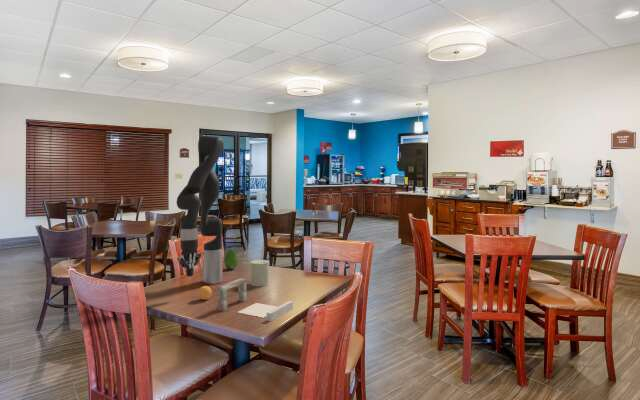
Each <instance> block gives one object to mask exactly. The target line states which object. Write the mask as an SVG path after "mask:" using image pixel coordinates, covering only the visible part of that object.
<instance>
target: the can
mask: <svg viewBox="0 0 640 400" xmlns="http://www.w3.org/2000/svg"><path fill="white" fill-rule="evenodd" d="M250 266H251V267H250V268H251V269H250V270H251V274H250V275H251V279H250V280H251V281H250V284H251V286H253V287H266V286H269V285H270V262H269V260H267V259H256V260H255V259H254V260H252V261H251V262H250Z"/></svg>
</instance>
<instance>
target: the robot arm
mask: <svg viewBox="0 0 640 400" xmlns="http://www.w3.org/2000/svg"><path fill="white" fill-rule="evenodd" d="M197 150H198V151H197V152H198V160H199V165H198V166H197V167H196V168H195V169H194V170H193V171H192V173H191V175H190V177H189V178H188V182H187V184H186V185H185V186H184V188H183V189H182V190H181V192H180V193H179V194H178V196H177V199H176V206H177V208H178V209H179V210H182V211H187V213H186V214H185V215H182V216H181V217H180V236H179V237H180V239H179V240H180V250H181V253H180V254H181V255H180V256H179V257H177V259H176V260H177V262H178V263H179V264H180V266H181V267H182V268H185V271H186V273H185V274H186V277H189V278H190V277H193V275H194V268H195V267H196V266H197V265H198V263H199V262H200V259H201V258H202V254H201V253H199V252H198V248H199V234H198V233H199V232H198V216H199V213H200V226H199V227H200V235H201V236H202V237H214V238H213V239H212V240H210V241H208V242H206V243H204V244H203V263H202V282H203V283H204V284H209V285H215V284H219V283H220V284H221V283H222V282H223V221H222V219H221V218H218V217H215V218H212V217H211V218H210V217H209V218H208V214H209V213H210V210H211V208H212V207H213V205H214V204H215V203H216V201H217V200H218V197H219V195H220V180H219V177H218V175H217V173H216V172H215V170H214V169H213V168H214V167H215V165H216V163H217V162H218V160H219V159H220V157H221V156H222V153H223V151H224V141H223V139H222V138H221V137H219V136H211V135H202V136H200V137H199V139H198V143H197ZM197 194H200V197H199V196H198V195H197Z"/></svg>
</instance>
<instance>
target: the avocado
mask: <svg viewBox="0 0 640 400" xmlns="http://www.w3.org/2000/svg"><path fill="white" fill-rule="evenodd" d="M223 262H224V266H225V268H226V269H228V270H233V269H235V268H236V267H237V266H238V263H239V258H238V255H237V253H236V251H235V250H234V249H232V248H231V249H228V250H227V252H226V254H225V256H224V259H223Z"/></svg>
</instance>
